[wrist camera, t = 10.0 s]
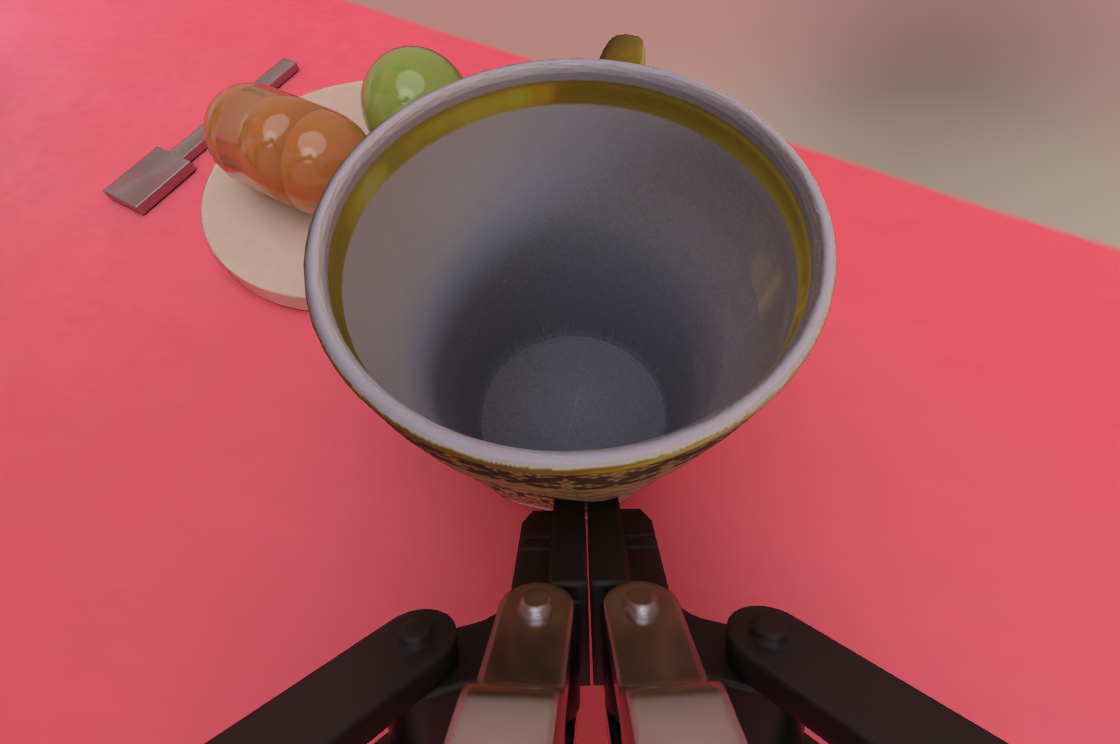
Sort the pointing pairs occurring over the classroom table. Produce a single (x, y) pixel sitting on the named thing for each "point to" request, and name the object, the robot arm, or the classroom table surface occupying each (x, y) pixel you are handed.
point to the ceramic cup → (570, 272)
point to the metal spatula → (175, 159)
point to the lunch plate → (267, 221)
